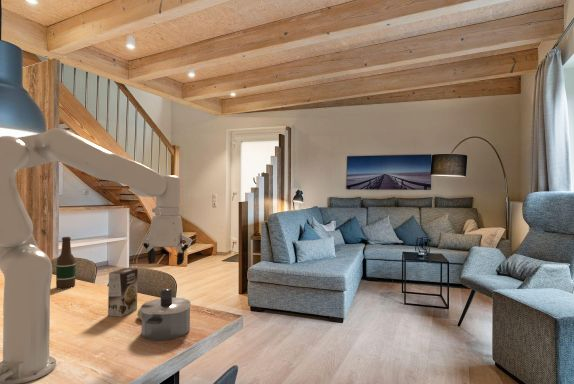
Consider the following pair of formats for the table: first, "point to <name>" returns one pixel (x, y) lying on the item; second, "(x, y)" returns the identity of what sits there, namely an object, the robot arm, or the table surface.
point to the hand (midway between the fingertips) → (165, 263)
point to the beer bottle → (65, 266)
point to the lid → (165, 304)
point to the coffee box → (122, 292)
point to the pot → (165, 326)
